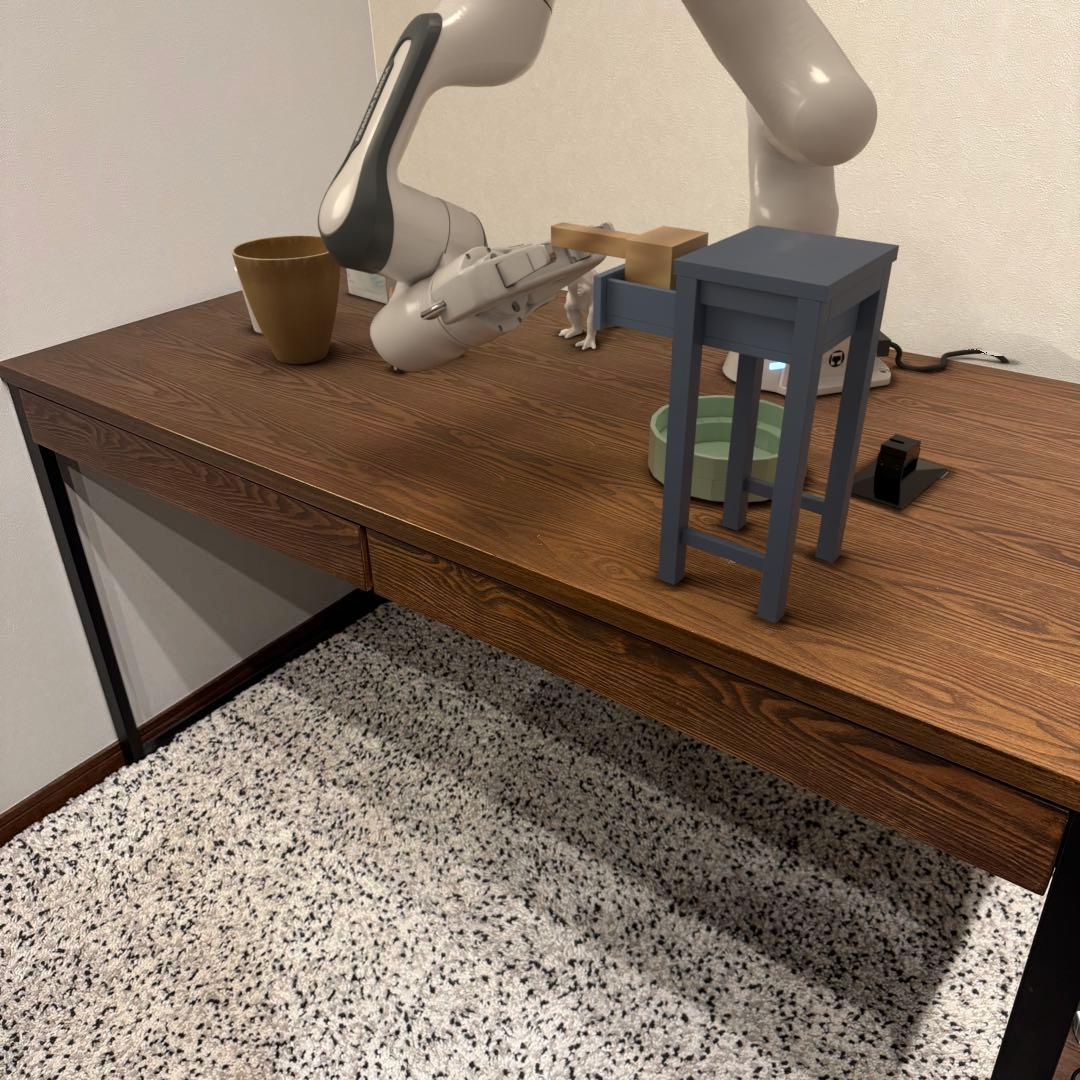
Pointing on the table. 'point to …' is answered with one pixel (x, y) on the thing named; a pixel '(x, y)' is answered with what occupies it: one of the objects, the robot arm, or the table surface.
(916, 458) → the black slotted stand
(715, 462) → the bowl
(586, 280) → the dinosaur figurine
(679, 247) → the mallet
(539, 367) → the table surface
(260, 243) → the plant pot
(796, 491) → the nightstand
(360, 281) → the cosmetics box
